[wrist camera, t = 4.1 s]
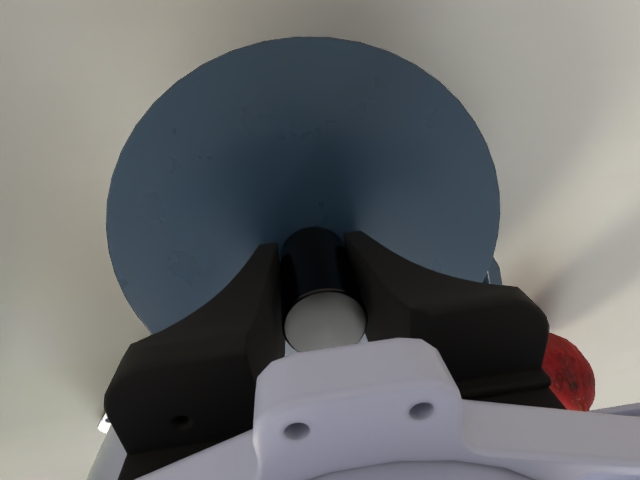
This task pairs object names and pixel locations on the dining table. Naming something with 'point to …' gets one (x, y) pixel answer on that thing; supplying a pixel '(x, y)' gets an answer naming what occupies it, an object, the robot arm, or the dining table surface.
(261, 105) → the pot lid
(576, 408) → the red round fruit
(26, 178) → the dining table surface
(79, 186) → the dining table surface
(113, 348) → the dining table surface
